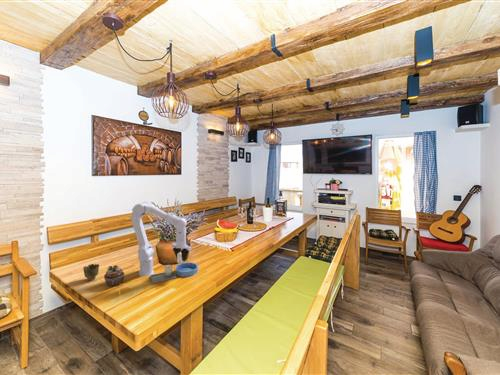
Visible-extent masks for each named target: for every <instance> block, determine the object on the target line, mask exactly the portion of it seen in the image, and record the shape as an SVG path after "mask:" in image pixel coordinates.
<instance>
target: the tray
mask: <svg viewBox="0 0 500 375" xmlns="http://www.w3.org/2000/svg"><path fill="white" fill-rule="evenodd" d="M177 277H178V276H177V275H176V273H175V271H173V270H172V276H170V277H165V271H163V272H159V273H154V274H152V275H149V278H150V280H151V283H152V285H155V284H159V283H160V284H161V283H163V282H164V283H165V282H169V281H173V280H175V279H177Z"/></svg>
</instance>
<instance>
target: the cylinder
mask: <svg viewBox="0 0 500 375" xmlns="http://www.w3.org/2000/svg"><path fill="white" fill-rule="evenodd" d="M172 271H173V265H172V264H166V265H164V272H165V277H170V276H172Z"/></svg>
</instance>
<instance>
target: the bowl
mask: <svg viewBox="0 0 500 375" xmlns="http://www.w3.org/2000/svg"><path fill="white" fill-rule="evenodd" d="M174 270H175V271H174V274H175V276H177V277H182V278H185V277H186V278H187V277H188V278H189V277H192V276H195V275H196V274H197V273H198V272H199V265H198V264H197V263H195V262H188V261H187V262H184V263H181V264H179V263H178V264H177V265H176V266H175V269H174Z"/></svg>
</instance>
